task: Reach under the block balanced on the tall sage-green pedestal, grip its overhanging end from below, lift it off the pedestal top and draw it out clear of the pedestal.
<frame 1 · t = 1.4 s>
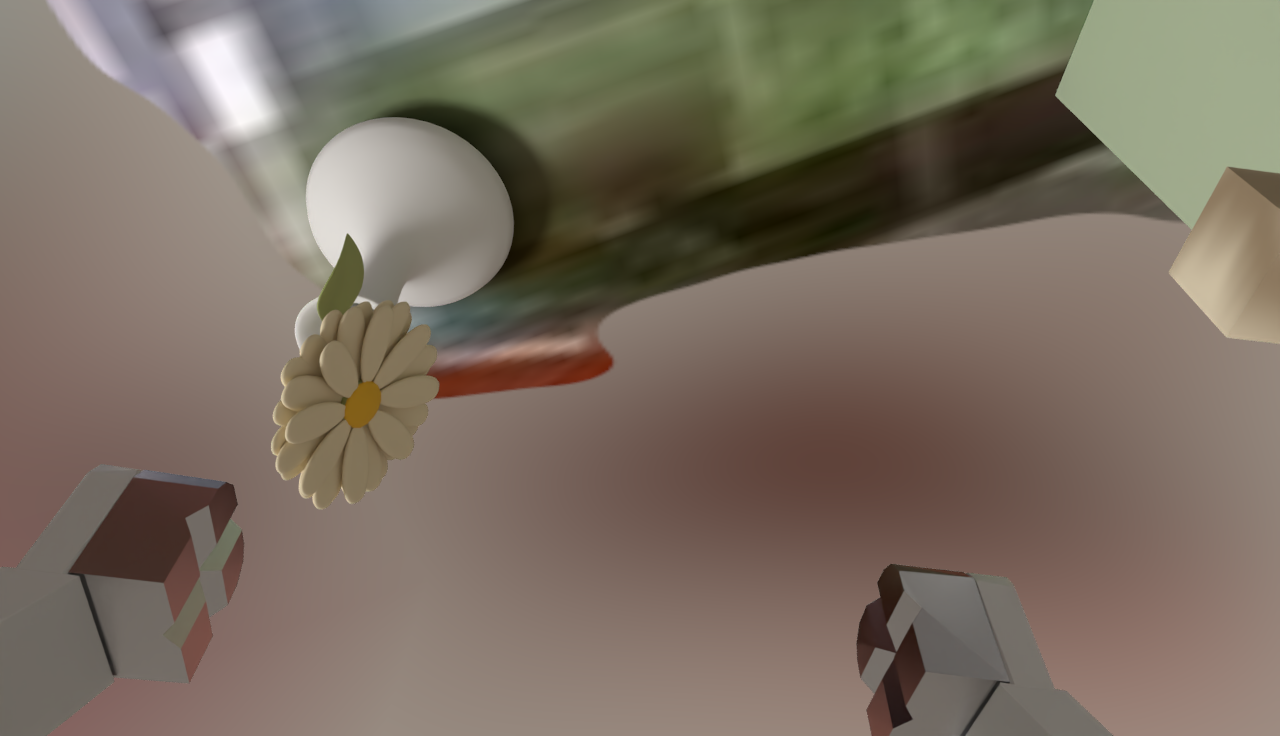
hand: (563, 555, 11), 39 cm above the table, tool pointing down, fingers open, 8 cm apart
flower in vase: (422, 189, 51), on the table
pedestal: (1193, 9, 45), on the table
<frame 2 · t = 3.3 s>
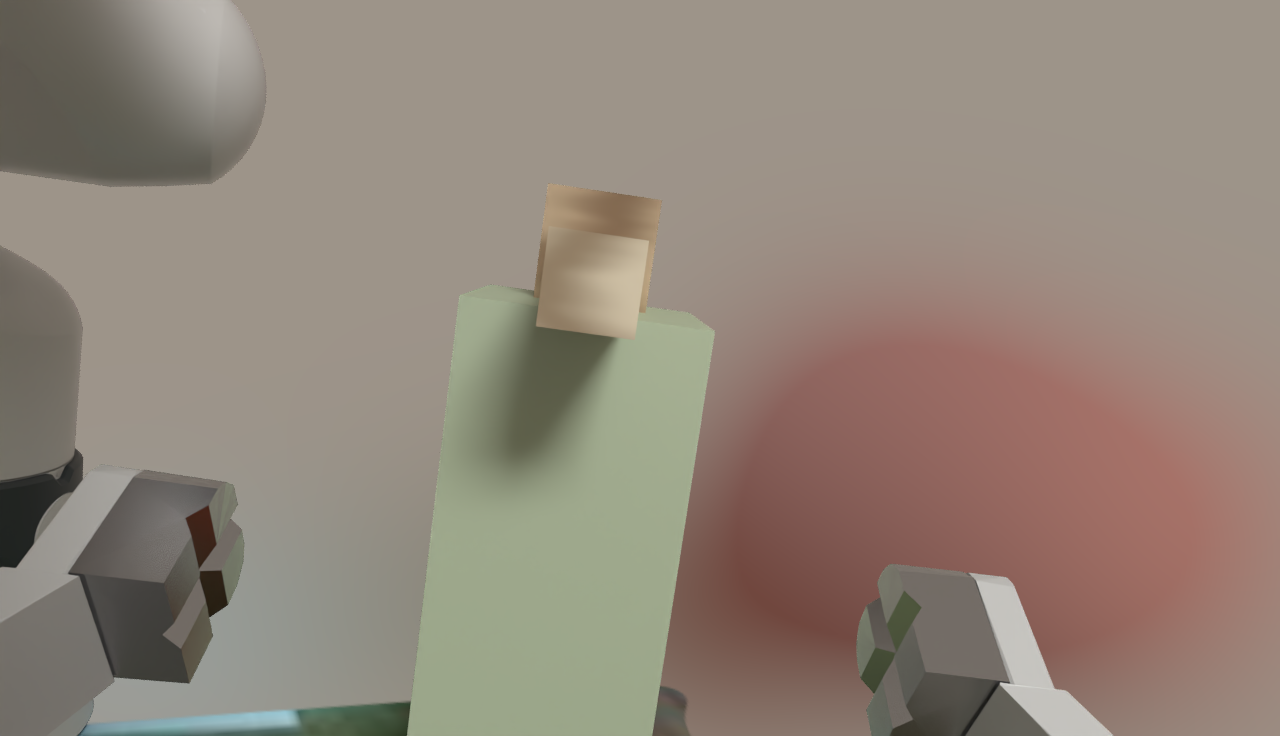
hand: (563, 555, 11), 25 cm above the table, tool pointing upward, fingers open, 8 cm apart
block: (588, 311, 36), point 26 cm above the table, touching pedestal
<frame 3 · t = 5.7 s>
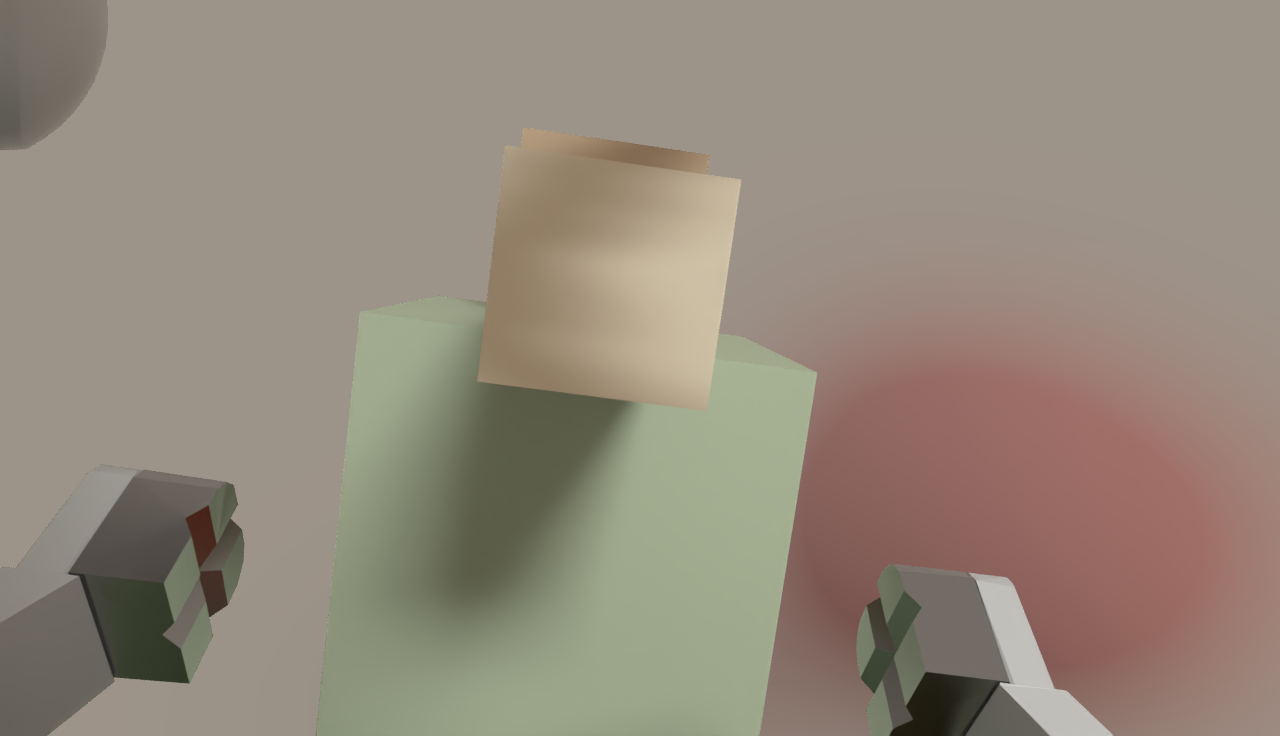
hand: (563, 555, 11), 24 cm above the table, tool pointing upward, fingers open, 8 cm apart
block: (592, 339, 21), point 26 cm above the table, touching pedestal
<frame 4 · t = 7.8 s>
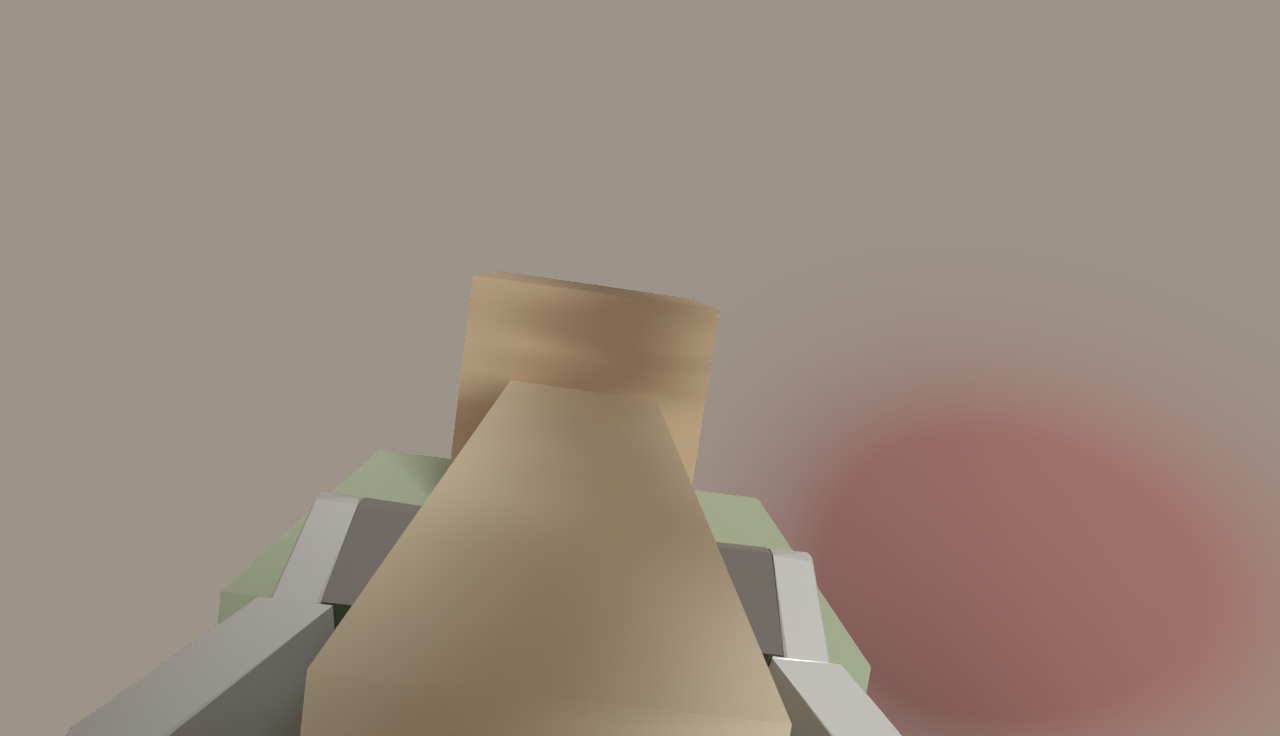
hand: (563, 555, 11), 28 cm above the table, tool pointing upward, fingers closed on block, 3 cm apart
block: (555, 604, 15), point 26 cm above the table, touching gripper, pedestal
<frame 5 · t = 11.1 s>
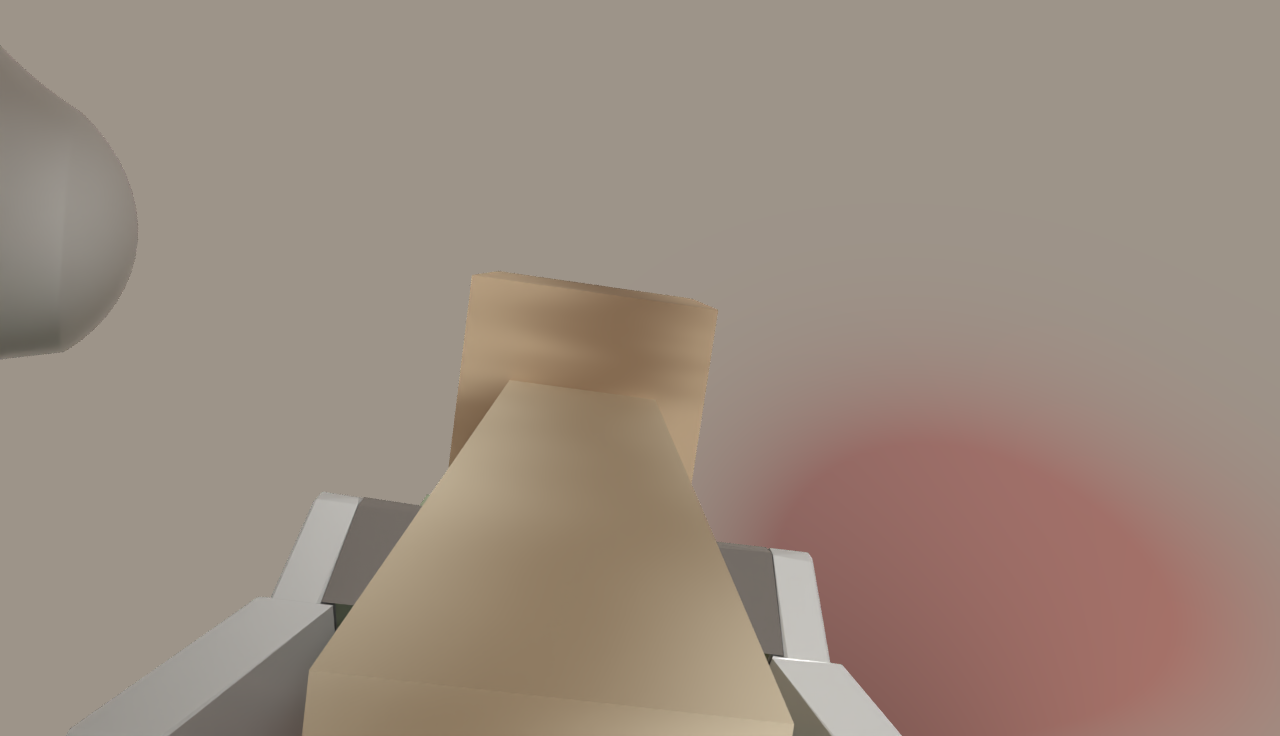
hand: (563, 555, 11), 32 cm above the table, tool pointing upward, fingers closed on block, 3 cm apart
block: (555, 604, 15), point 30 cm above the table, touching gripper
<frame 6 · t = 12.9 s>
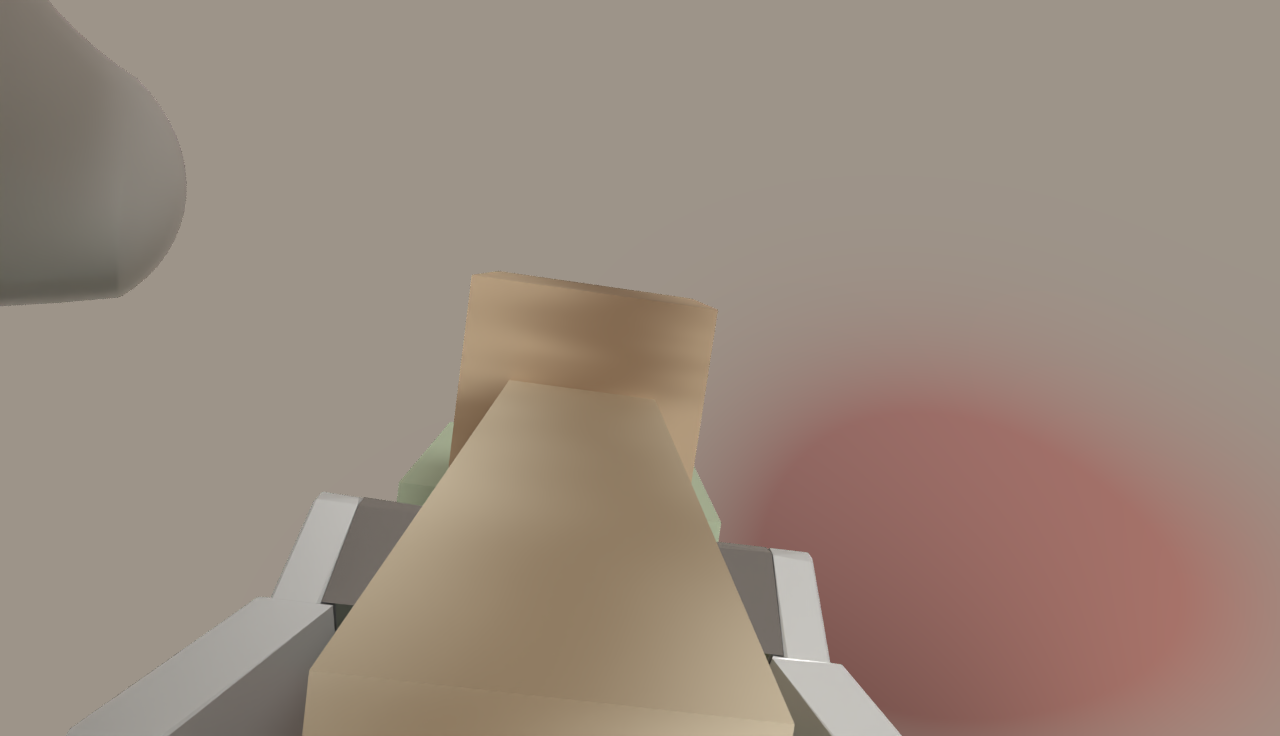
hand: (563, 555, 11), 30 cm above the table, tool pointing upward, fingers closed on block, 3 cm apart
block: (554, 604, 15), point 28 cm above the table, touching gripper
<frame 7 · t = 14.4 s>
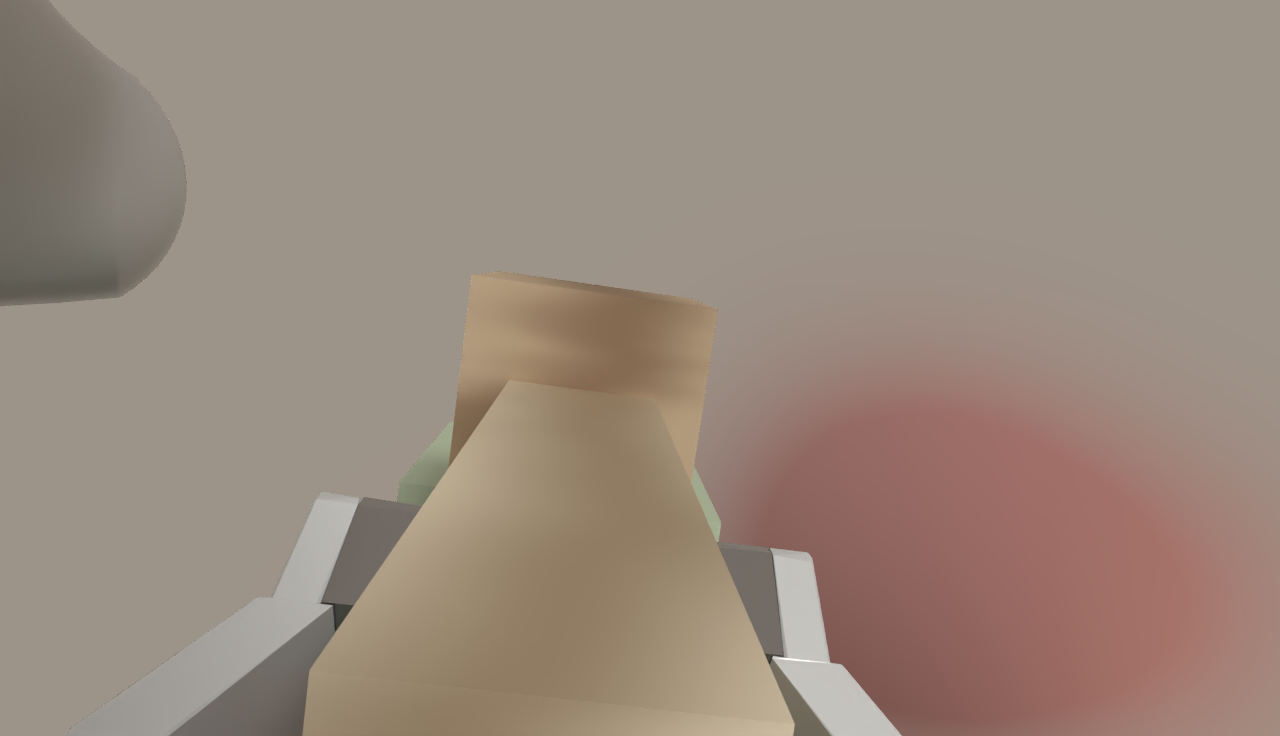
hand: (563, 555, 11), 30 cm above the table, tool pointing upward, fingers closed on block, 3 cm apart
block: (554, 604, 15), point 28 cm above the table, touching gripper
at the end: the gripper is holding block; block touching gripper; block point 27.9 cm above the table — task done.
